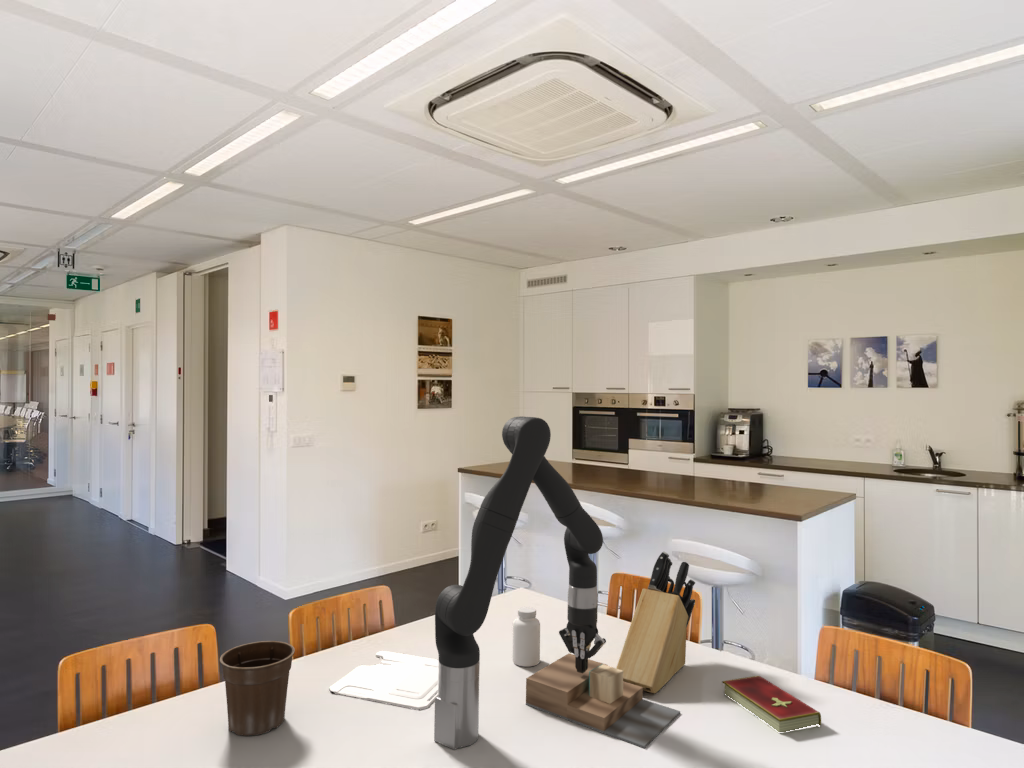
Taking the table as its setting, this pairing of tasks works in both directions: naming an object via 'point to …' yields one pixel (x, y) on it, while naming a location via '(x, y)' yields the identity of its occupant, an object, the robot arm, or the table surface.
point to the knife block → (658, 629)
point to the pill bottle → (526, 638)
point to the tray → (393, 681)
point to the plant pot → (256, 685)
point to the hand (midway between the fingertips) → (581, 671)
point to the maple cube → (606, 683)
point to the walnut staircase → (596, 703)
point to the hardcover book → (771, 703)
